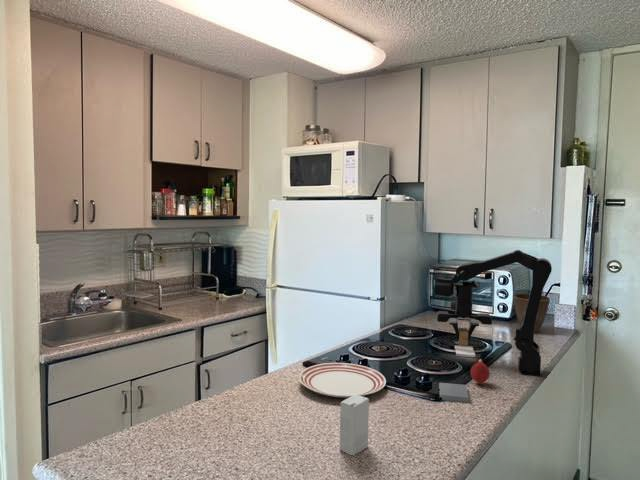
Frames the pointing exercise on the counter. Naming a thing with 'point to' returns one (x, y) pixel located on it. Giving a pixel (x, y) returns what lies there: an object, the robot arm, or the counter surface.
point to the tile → (453, 392)
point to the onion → (479, 372)
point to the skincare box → (354, 424)
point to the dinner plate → (342, 379)
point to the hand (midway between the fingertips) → (462, 341)
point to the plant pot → (521, 307)
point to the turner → (464, 344)
